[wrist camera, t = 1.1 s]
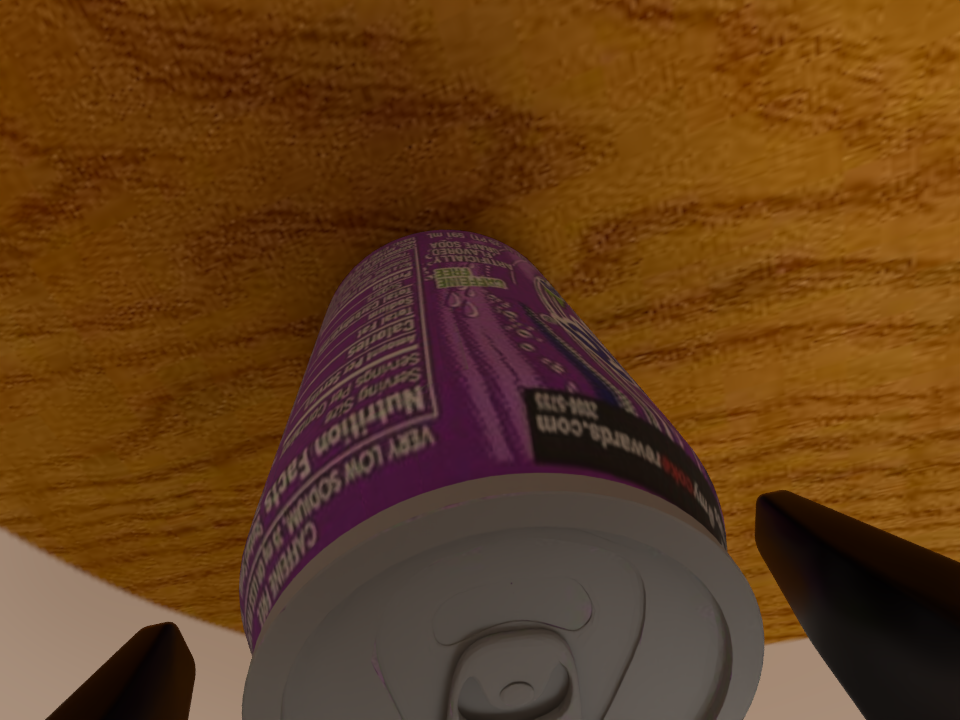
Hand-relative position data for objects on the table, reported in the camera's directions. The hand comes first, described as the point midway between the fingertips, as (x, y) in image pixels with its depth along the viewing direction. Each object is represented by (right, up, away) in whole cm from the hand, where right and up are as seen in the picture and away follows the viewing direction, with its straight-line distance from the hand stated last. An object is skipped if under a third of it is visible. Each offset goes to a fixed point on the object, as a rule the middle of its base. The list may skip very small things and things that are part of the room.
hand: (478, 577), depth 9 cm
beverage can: (-1, +4, +9) cm, 10 cm away
